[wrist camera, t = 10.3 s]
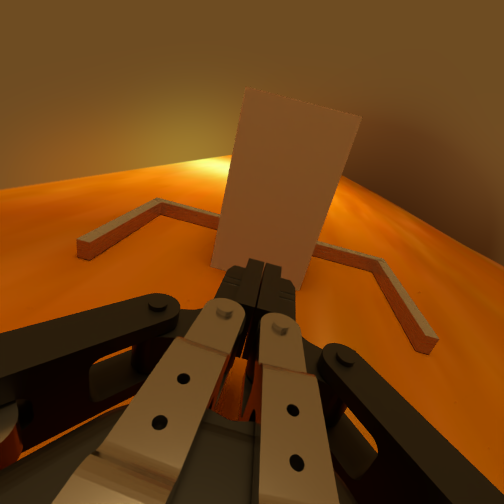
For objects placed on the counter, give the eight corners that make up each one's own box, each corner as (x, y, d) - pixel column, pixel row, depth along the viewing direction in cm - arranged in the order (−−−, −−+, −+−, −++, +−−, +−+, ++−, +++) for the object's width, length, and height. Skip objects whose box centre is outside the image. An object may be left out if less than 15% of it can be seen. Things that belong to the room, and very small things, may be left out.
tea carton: (297, 253, 32) (342, 119, 26) (299, 290, 25) (362, 116, 19) (228, 235, 32) (257, 97, 26) (210, 266, 25) (245, 86, 19)
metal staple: (378, 270, 33) (383, 259, 32) (428, 354, 21) (439, 339, 20) (155, 209, 34) (157, 197, 33) (77, 256, 21) (76, 238, 21)
